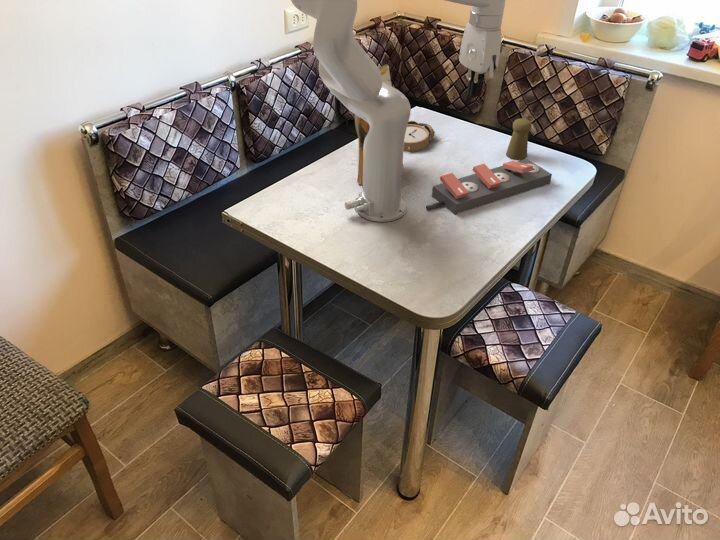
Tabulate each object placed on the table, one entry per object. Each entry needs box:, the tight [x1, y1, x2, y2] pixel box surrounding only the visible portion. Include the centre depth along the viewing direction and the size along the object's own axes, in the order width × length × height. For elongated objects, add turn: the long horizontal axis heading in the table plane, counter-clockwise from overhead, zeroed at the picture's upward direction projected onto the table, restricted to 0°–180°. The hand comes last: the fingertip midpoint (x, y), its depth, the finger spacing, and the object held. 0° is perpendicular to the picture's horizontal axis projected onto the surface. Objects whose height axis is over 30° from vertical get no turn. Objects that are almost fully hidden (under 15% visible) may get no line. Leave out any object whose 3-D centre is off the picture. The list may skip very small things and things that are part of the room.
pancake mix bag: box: [354, 63, 393, 186], centre depth 162 cm, size 7×19×28 cm, turn 143°
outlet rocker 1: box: [439, 172, 469, 199], centre depth 157 cm, size 4×8×2 cm, turn 30°
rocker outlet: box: [502, 160, 533, 173], centre depth 165 cm, size 4×8×2 cm, turn 30°
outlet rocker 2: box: [472, 163, 501, 189], centre depth 161 cm, size 4×8×2 cm, turn 30°
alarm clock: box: [403, 120, 436, 153], centre depth 186 cm, size 11×5×15 cm
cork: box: [505, 117, 532, 161], centre depth 177 cm, size 6×6×11 cm
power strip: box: [425, 158, 553, 215], centre depth 162 cm, size 37×10×3 cm, turn 120°
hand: (474, 95), depth 154 cm, fingers closed
